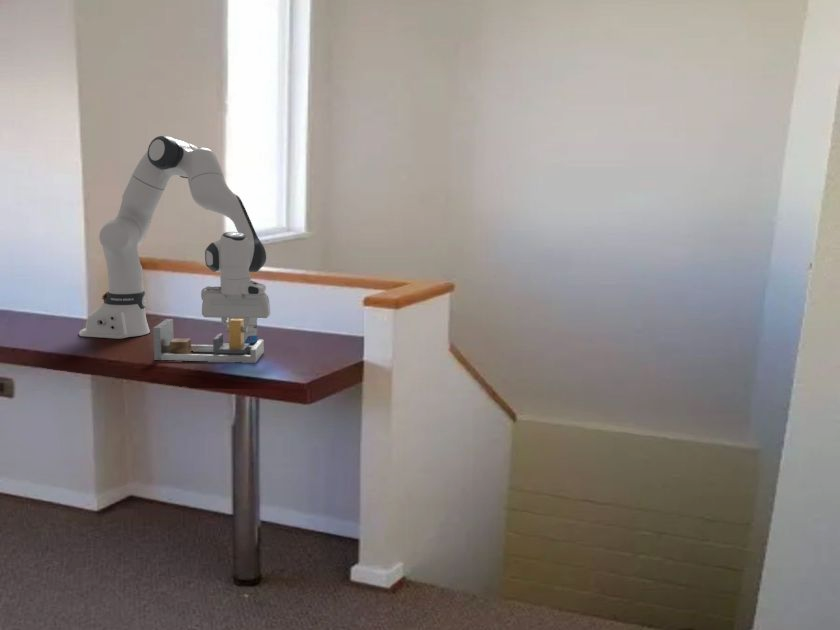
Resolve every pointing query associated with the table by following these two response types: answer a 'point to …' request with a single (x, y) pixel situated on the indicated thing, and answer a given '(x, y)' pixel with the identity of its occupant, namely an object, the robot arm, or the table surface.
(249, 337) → the ink box
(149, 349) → the table surface
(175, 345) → the wooden cube
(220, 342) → the slider
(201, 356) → the frame
